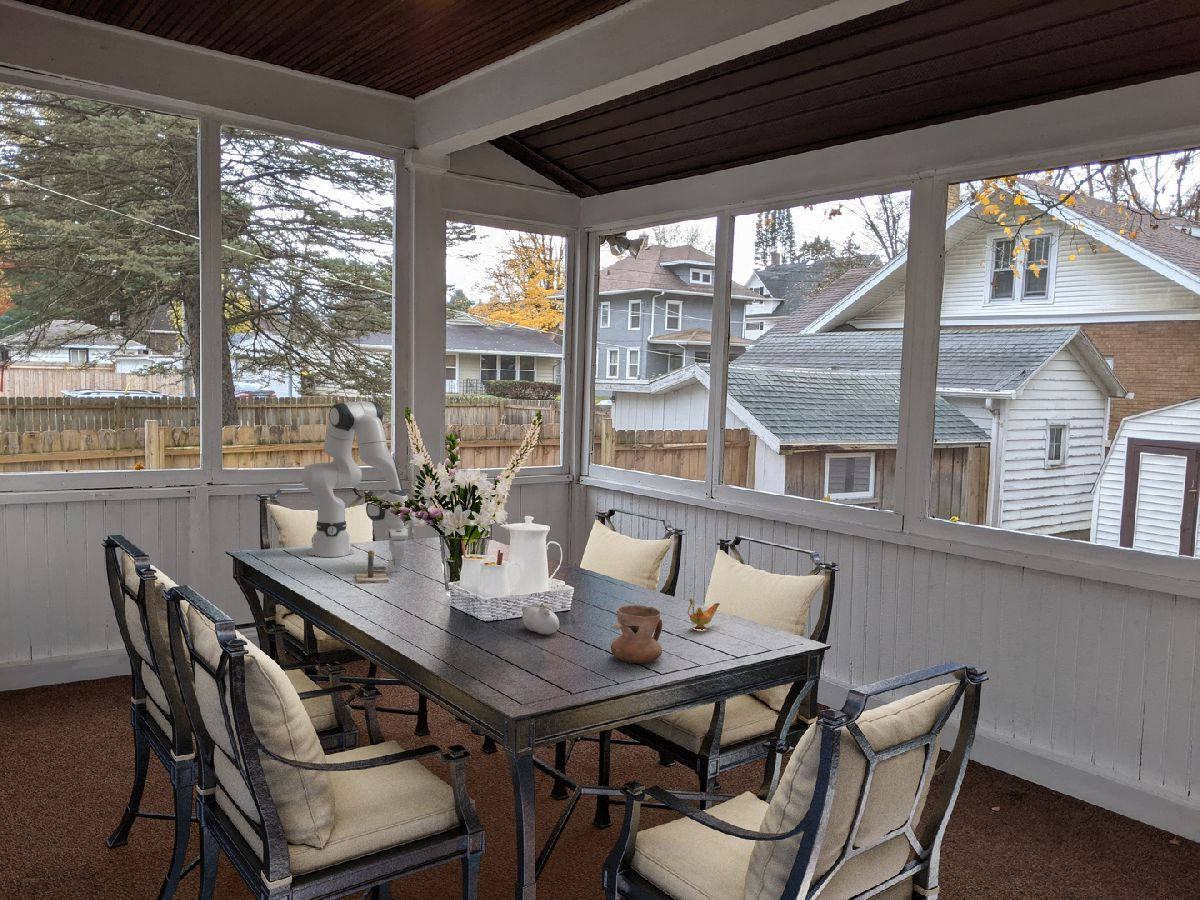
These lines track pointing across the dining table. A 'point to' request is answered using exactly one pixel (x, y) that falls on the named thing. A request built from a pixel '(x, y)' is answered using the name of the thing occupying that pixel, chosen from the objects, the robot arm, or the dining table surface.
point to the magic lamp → (702, 615)
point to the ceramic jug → (637, 634)
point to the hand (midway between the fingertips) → (396, 566)
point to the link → (388, 569)
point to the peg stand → (371, 572)
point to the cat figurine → (540, 618)
